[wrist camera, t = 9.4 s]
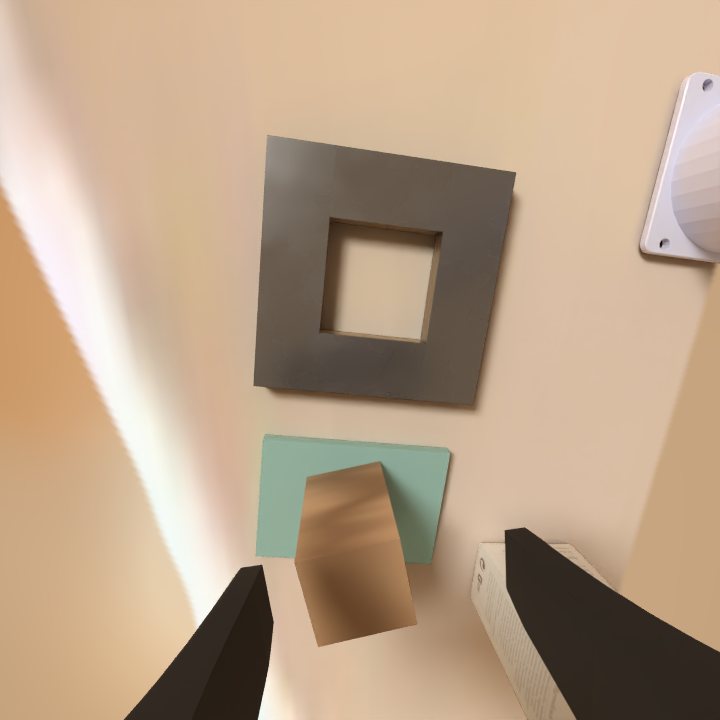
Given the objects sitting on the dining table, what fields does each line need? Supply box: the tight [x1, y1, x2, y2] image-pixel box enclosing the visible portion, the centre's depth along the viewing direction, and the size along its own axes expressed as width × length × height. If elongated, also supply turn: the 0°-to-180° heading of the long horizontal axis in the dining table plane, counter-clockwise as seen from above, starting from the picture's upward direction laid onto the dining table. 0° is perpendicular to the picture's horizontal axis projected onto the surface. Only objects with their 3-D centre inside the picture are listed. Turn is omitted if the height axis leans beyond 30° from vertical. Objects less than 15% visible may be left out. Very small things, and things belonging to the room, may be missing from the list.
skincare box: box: [471, 543, 618, 720], centre depth 16 cm, size 6×4×12 cm
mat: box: [256, 434, 450, 564], centre depth 20 cm, size 10×7×1 cm
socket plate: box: [254, 135, 516, 405], centre depth 17 cm, size 11×11×1 cm
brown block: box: [295, 461, 417, 647], centre depth 17 cm, size 4×4×6 cm
